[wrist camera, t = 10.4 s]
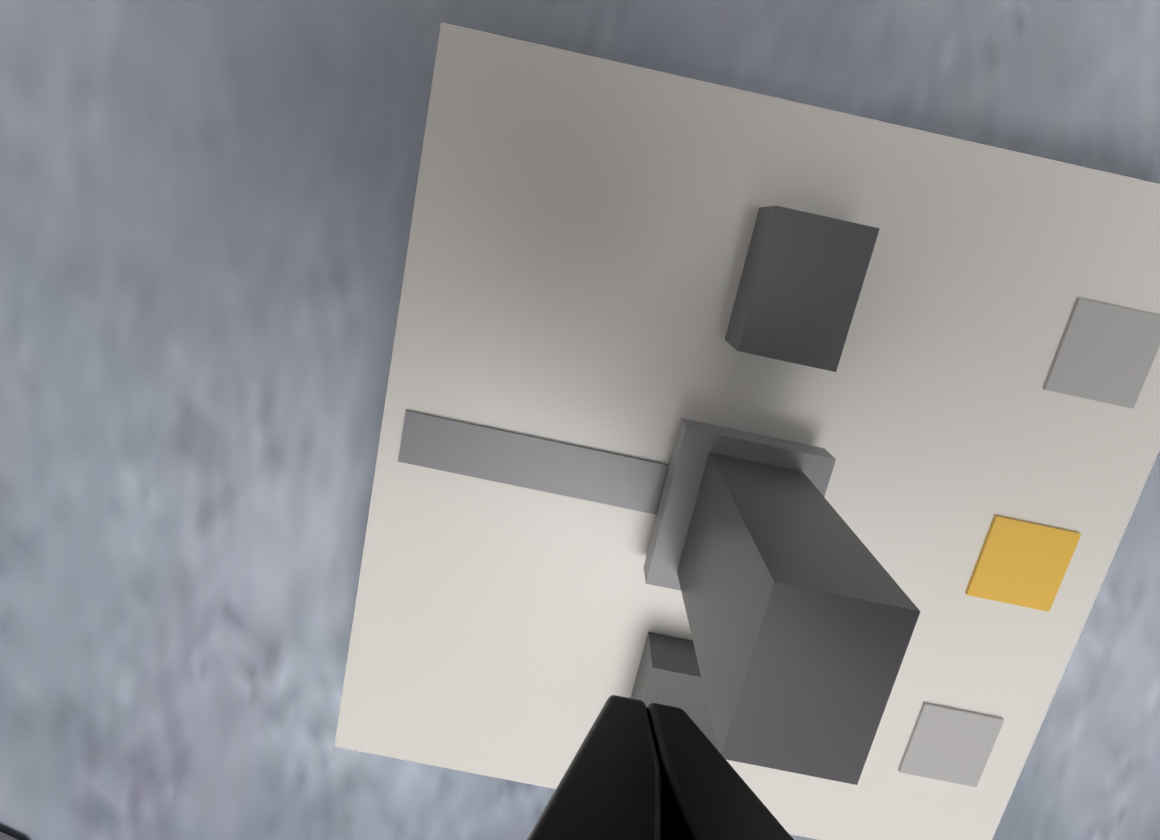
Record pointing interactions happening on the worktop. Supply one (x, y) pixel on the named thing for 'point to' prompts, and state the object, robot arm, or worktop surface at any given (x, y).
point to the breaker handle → (778, 601)
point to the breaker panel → (742, 415)
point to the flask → (6, 837)
